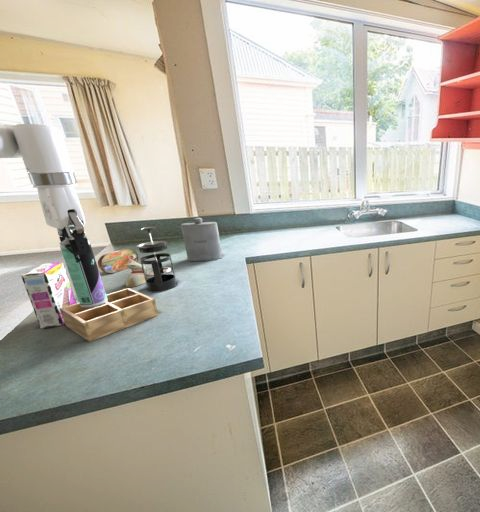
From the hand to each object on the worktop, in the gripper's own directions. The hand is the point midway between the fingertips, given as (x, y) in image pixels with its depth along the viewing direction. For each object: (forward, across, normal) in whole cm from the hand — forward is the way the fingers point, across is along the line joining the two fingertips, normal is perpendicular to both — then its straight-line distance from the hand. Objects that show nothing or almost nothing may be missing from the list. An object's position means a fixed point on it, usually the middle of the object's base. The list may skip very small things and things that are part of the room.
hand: (77, 251), depth 76 cm
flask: (+23, -37, +52) cm, 68 cm away
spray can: (+15, 0, 0) cm, 15 cm away
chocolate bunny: (+23, -30, +21) cm, 43 cm away
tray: (+23, -4, +4) cm, 24 cm away
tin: (+24, -54, +25) cm, 64 cm away
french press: (+23, -18, +24) cm, 38 cm away
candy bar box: (+23, -18, -4) cm, 30 cm away
